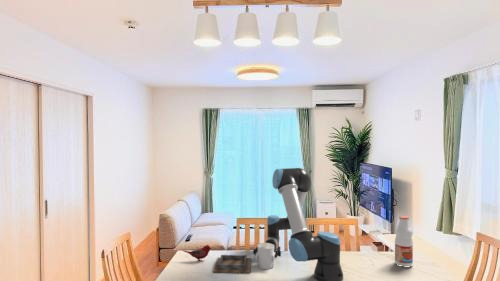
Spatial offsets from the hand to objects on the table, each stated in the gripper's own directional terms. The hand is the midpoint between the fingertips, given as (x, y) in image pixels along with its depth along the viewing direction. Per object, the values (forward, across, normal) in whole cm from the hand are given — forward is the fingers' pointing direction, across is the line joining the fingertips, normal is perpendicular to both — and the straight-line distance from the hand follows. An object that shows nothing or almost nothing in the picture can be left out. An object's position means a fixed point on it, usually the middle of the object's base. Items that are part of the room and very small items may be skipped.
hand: (264, 257), depth 185 cm
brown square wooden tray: (-1, +19, -7) cm, 20 cm away
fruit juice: (-24, -78, -7) cm, 82 cm away
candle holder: (-5, 0, -7) cm, 8 cm away
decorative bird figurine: (-3, +42, -7) cm, 42 cm away
